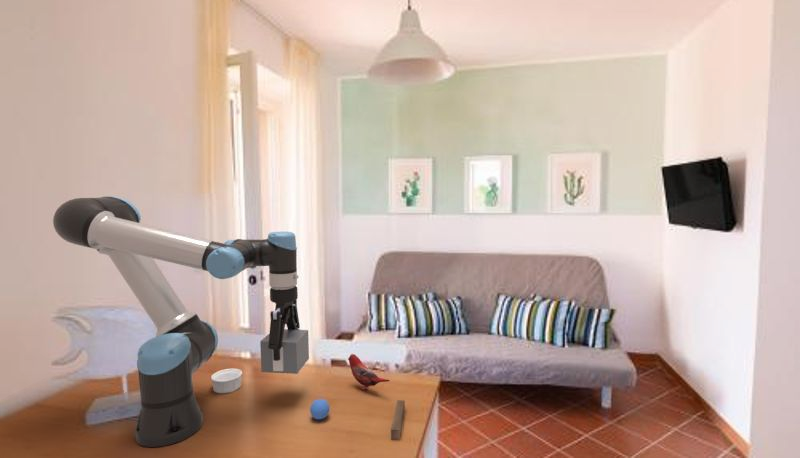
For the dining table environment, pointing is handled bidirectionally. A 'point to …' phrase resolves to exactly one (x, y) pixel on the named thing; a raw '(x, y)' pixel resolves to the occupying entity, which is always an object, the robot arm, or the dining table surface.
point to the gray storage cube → (287, 352)
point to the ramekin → (226, 380)
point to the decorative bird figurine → (363, 373)
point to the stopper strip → (398, 420)
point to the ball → (319, 409)
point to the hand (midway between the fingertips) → (285, 362)
